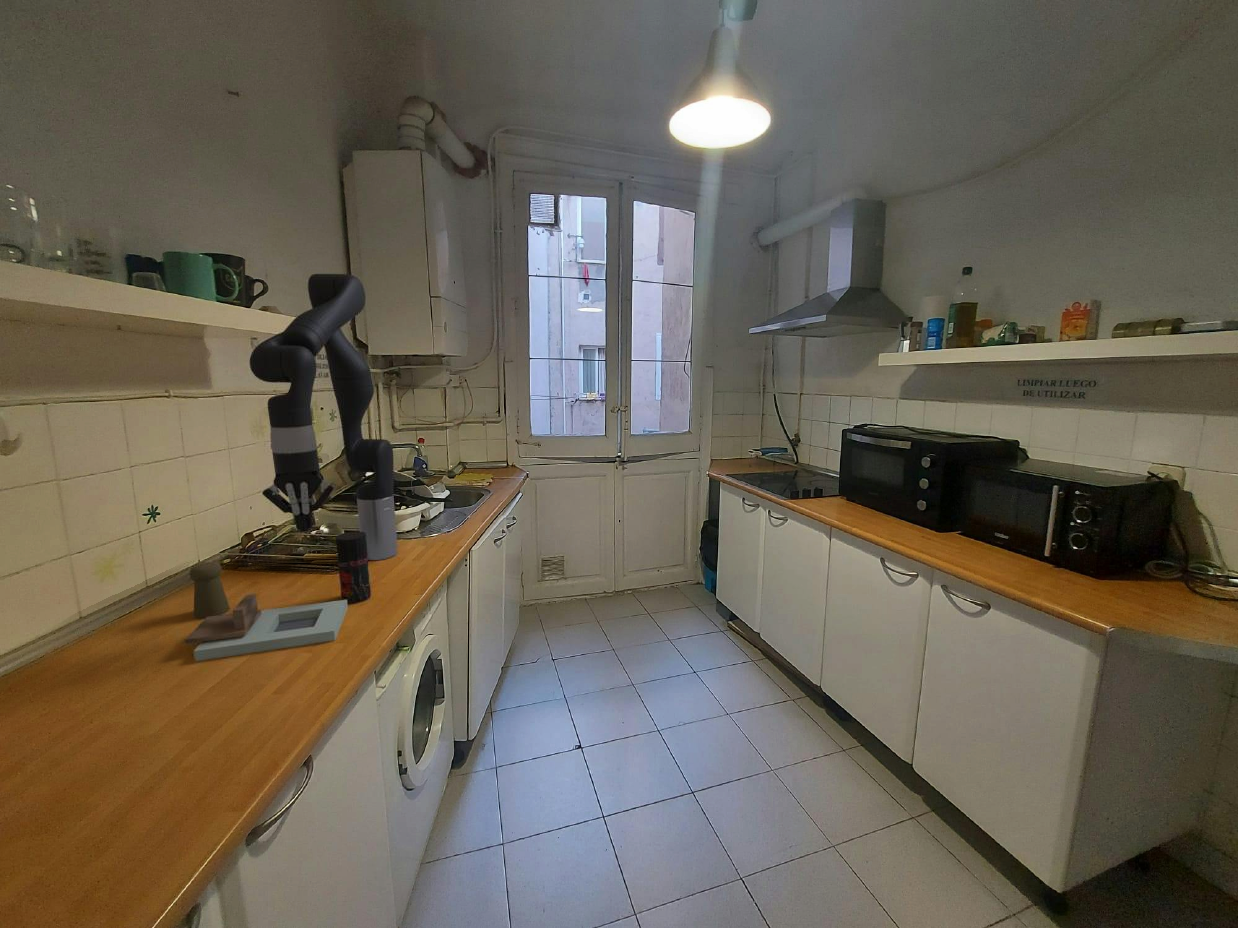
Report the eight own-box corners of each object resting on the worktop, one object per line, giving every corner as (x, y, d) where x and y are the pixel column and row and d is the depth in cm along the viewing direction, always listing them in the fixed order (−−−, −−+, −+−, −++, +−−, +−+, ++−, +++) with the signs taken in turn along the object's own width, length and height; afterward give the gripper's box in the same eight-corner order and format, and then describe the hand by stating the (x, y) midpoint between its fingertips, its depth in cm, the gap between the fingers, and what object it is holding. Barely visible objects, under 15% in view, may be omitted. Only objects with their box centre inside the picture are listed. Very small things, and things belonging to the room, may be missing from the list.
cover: (207, 620, 96) (204, 597, 95) (261, 613, 99) (258, 591, 98) (185, 643, 88) (181, 619, 87) (245, 635, 91) (241, 611, 90)
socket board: (226, 623, 100) (225, 614, 99) (347, 607, 107) (347, 599, 107) (195, 661, 87) (193, 651, 86) (335, 640, 94) (334, 630, 94)
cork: (214, 619, 101) (206, 569, 99) (185, 618, 101) (177, 569, 99) (237, 605, 107) (230, 558, 105) (210, 605, 107) (203, 558, 105)
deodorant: (375, 597, 112) (369, 535, 109) (347, 606, 108) (341, 541, 105) (365, 589, 116) (360, 529, 113) (338, 597, 112) (331, 535, 109)
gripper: (336, 443, 102) (344, 521, 106) (262, 446, 98) (273, 527, 102) (328, 449, 96) (337, 533, 99) (248, 453, 91) (261, 540, 95)
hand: (305, 530), depth 100 cm, fingers closed
